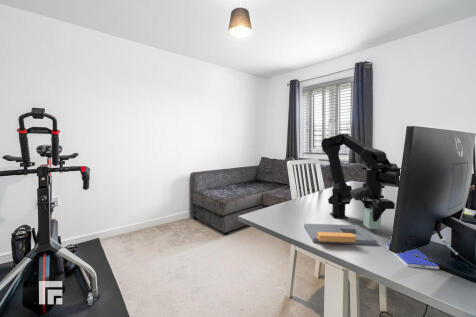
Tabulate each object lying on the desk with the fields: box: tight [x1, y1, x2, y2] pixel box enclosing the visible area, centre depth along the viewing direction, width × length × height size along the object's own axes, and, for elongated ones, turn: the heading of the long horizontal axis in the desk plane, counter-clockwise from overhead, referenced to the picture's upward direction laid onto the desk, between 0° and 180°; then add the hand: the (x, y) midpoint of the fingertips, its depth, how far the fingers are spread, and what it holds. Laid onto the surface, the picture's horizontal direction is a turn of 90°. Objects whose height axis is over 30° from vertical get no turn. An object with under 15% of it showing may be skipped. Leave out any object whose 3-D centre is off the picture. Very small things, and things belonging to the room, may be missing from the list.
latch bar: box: [317, 232, 355, 242], centre depth 76 cm, size 3×12×2 cm, turn 86°
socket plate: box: [303, 223, 378, 246], centre depth 84 cm, size 14×22×2 cm, turn 86°
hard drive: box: [385, 243, 440, 270], centre depth 68 cm, size 2×8×12 cm
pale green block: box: [362, 207, 382, 230], centre depth 88 cm, size 4×4×7 cm
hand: (371, 219), depth 89 cm, fingers closed on pale green block, 4 cm apart
